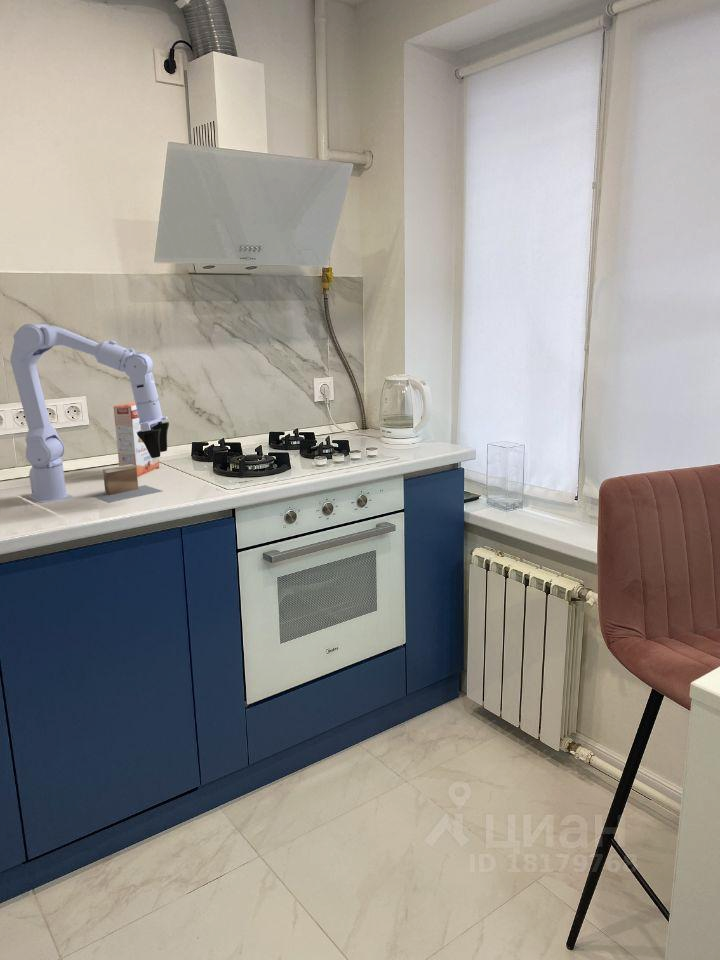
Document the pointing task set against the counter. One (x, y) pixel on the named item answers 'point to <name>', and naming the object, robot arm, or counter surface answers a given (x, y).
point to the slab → (120, 479)
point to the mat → (128, 494)
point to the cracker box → (132, 440)
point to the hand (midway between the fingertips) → (159, 454)
